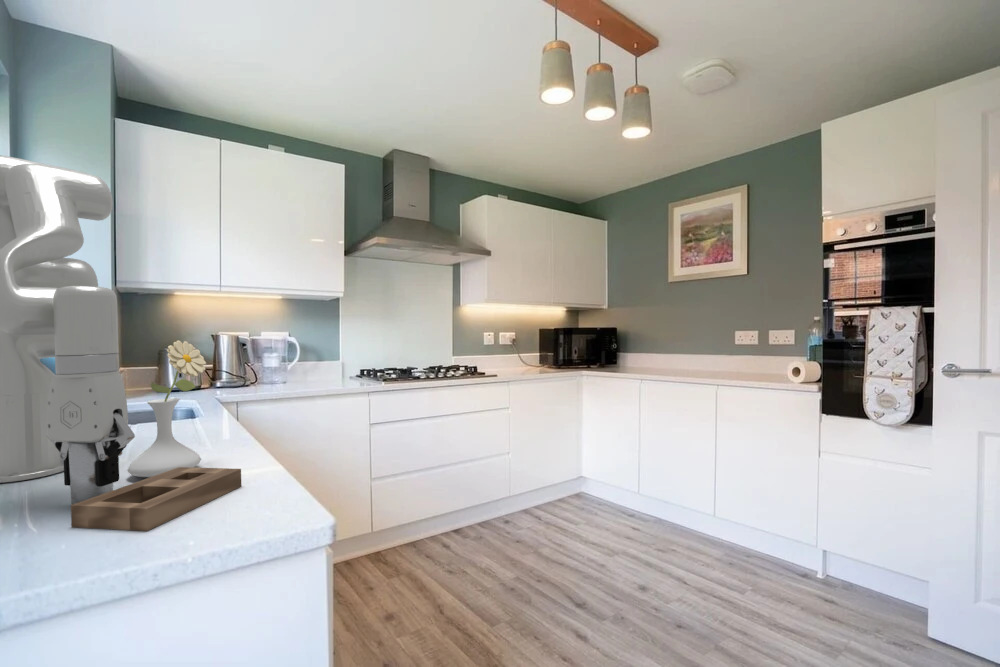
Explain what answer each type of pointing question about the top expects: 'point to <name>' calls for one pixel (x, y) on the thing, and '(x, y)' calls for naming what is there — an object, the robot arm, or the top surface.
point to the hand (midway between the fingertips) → (92, 482)
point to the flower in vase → (170, 418)
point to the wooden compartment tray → (155, 499)
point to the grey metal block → (84, 471)
